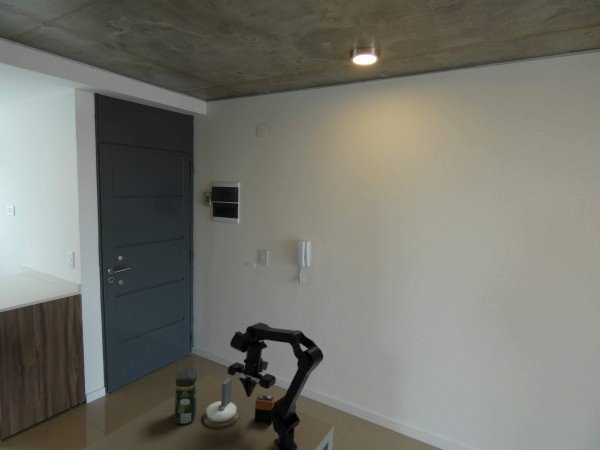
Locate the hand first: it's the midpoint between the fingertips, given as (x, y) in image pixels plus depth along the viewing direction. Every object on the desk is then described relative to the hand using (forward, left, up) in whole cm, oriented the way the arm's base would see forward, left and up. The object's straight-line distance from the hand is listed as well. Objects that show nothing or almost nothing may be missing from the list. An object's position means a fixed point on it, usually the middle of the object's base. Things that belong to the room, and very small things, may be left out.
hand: (248, 396), depth 135 cm
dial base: (+9, +8, -12) cm, 17 cm away
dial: (+9, +8, -10) cm, 15 cm away
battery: (+1, -7, -12) cm, 14 cm away
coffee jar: (+14, +21, -12) cm, 28 cm away
